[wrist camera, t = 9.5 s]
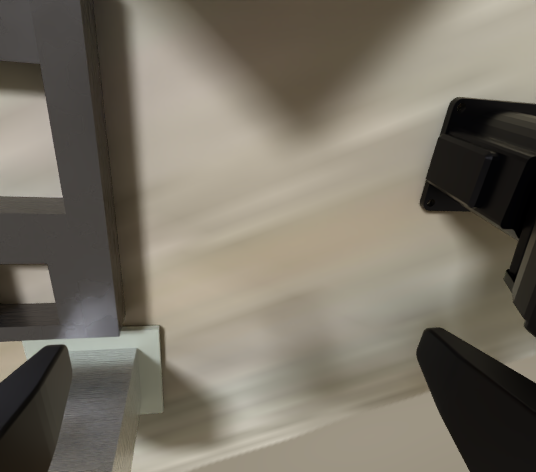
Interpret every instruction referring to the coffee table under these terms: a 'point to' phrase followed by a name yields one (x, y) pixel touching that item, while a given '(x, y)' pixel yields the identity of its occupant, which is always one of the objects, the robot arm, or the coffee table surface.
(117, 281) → the slotted plate
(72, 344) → the mat
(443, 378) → the robot arm
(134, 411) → the brushed metal block
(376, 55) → the coffee table surface
